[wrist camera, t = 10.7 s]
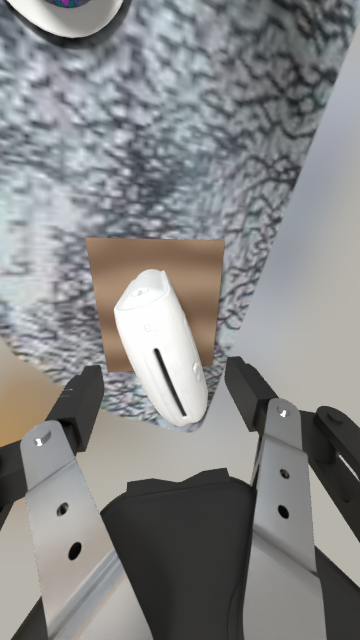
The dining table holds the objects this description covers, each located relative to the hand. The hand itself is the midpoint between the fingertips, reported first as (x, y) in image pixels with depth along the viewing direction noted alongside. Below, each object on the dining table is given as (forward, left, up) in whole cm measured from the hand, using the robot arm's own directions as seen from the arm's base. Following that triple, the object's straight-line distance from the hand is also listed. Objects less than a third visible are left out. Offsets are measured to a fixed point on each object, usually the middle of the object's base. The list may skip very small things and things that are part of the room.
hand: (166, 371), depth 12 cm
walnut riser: (0, 0, -15) cm, 15 cm away
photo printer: (0, 0, -11) cm, 11 cm away
